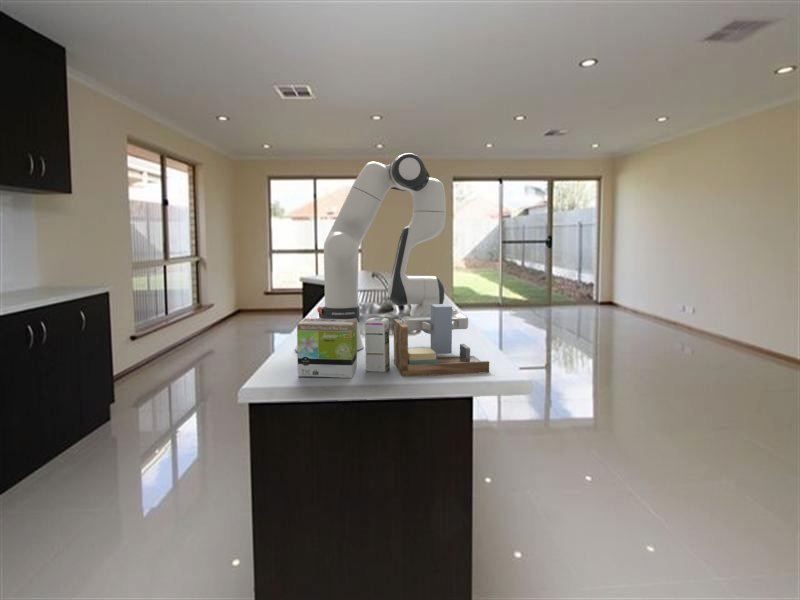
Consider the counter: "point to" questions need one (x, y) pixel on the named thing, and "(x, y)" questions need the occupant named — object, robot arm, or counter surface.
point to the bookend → (466, 354)
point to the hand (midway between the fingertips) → (441, 327)
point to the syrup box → (377, 344)
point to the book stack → (421, 356)
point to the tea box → (327, 347)
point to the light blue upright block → (441, 328)
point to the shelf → (440, 368)
